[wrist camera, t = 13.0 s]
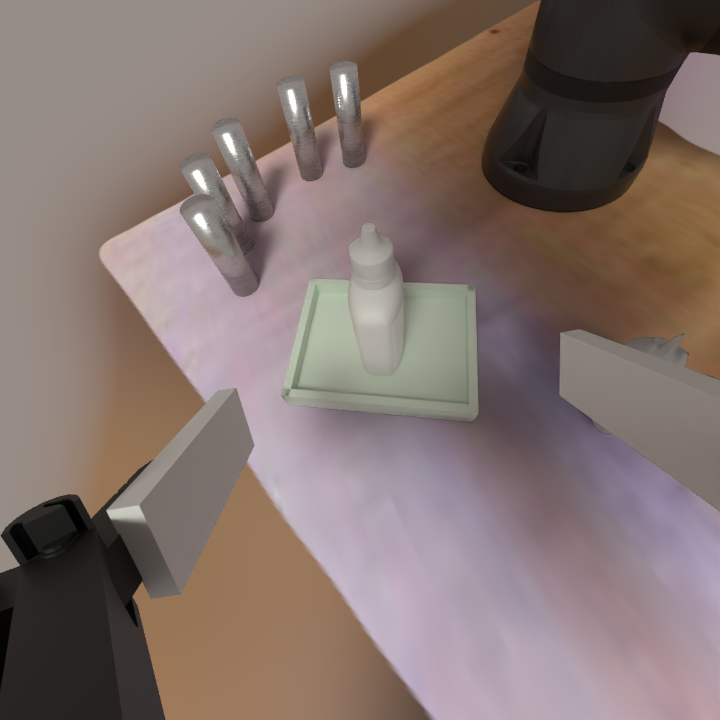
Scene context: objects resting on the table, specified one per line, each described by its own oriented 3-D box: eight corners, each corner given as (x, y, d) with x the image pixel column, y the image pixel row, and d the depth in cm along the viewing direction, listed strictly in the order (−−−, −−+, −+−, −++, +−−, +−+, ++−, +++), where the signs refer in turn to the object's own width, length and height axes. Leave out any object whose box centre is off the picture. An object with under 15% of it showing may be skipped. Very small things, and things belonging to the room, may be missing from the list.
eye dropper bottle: (423, 332, 28) (435, 206, 17) (386, 386, 26) (373, 284, 15) (378, 309, 29) (364, 181, 18) (340, 360, 27) (299, 249, 17)
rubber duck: (649, 378, 25) (749, 316, 18) (634, 460, 23) (742, 426, 16) (571, 351, 27) (634, 284, 20) (549, 425, 24) (612, 379, 17)
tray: (470, 299, 30) (475, 285, 28) (472, 422, 25) (478, 413, 23) (314, 292, 32) (310, 278, 30) (288, 404, 27) (281, 395, 25)
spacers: (369, 157, 40) (362, 63, 32) (247, 300, 32) (198, 222, 24) (317, 143, 42) (299, 52, 34) (191, 273, 34) (129, 194, 26)
